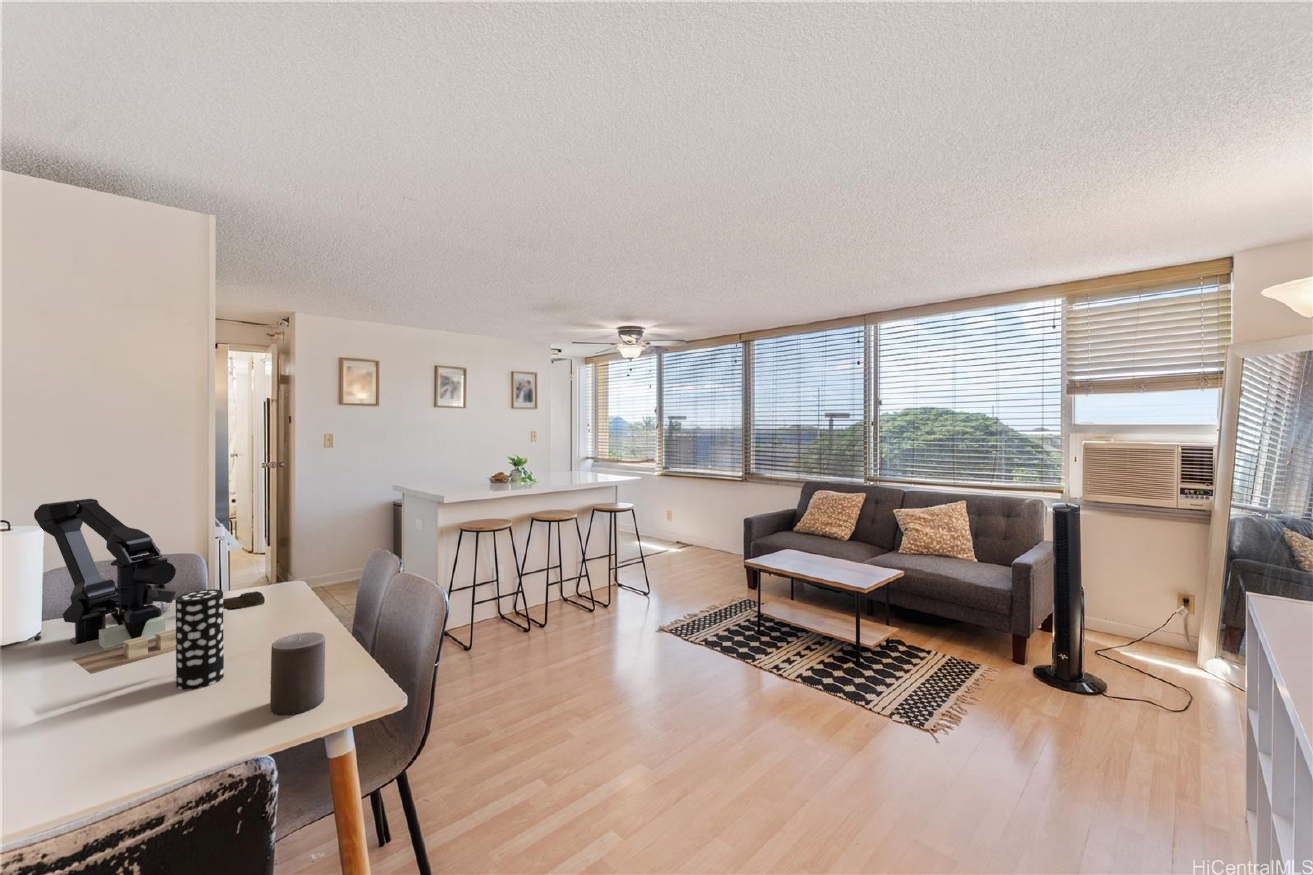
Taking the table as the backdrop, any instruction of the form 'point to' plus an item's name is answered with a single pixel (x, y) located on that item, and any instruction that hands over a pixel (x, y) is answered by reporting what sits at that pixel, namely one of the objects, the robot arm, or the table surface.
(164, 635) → the pine offcut right
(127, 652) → the pine offcut left
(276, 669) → the pillar candle
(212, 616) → the spotted tube
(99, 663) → the walnut board
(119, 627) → the sanding block
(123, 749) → the table surface
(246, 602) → the hand tool
